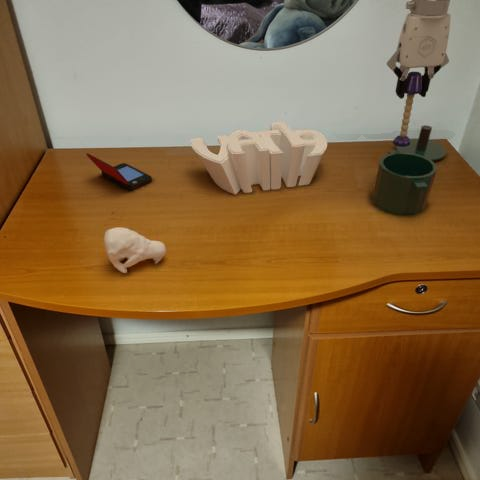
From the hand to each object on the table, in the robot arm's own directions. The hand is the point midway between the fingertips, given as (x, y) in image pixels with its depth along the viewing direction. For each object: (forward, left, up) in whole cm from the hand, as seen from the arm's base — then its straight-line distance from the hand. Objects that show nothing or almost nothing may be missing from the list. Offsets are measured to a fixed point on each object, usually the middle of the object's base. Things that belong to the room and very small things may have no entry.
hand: (410, 95), depth 115 cm
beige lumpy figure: (+66, +33, -19) cm, 77 cm away
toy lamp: (0, 0, -12) cm, 12 cm away
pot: (+4, +16, -19) cm, 25 cm away
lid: (-11, -9, -19) cm, 24 cm away
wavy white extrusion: (+35, -1, -19) cm, 40 cm away
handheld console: (+72, -3, -19) cm, 74 cm away
